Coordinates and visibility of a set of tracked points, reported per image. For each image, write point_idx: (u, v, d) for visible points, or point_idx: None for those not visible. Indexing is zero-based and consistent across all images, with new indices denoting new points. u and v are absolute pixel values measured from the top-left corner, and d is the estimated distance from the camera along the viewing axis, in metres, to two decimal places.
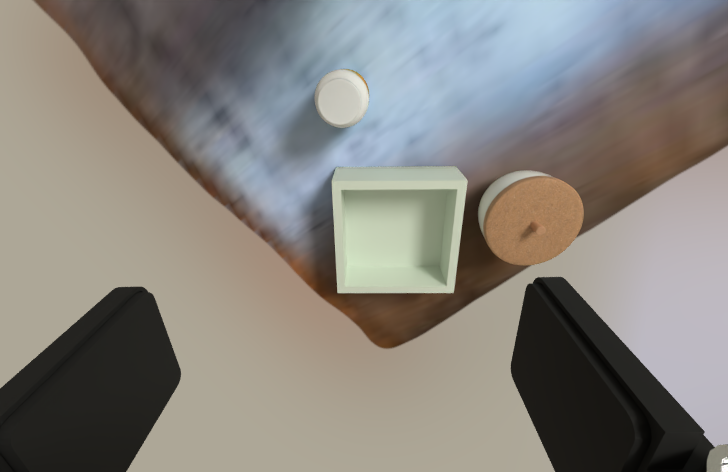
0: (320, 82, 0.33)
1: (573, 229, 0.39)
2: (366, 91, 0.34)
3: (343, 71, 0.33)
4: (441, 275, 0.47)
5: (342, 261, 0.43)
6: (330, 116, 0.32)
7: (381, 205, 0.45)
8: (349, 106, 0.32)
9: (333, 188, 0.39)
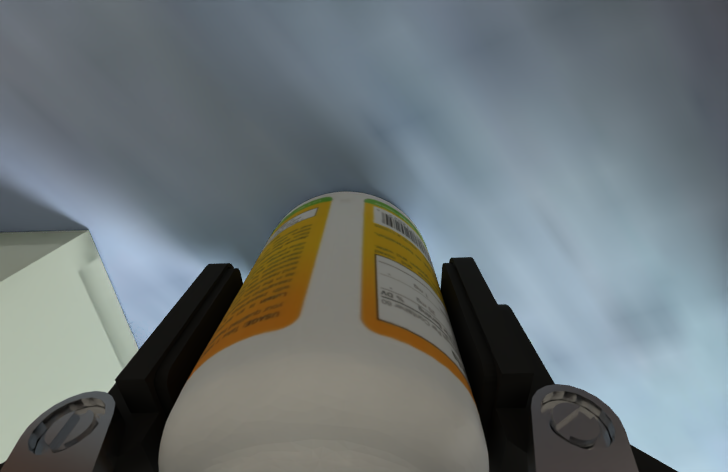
0: (431, 412, 0.05)
1: None
2: None
3: None
4: None
5: None
6: None
7: None
8: None
9: None
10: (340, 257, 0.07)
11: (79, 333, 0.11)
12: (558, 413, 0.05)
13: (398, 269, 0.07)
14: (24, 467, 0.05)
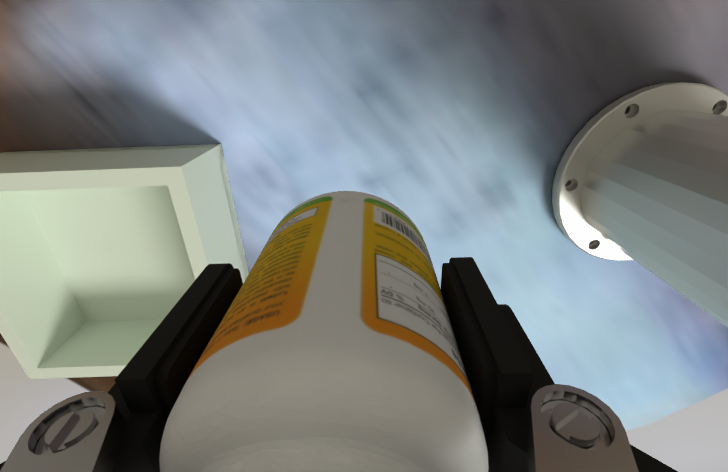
0: (430, 409, 0.05)
1: None
2: None
3: None
4: (63, 340, 0.27)
5: None
6: None
7: (166, 229, 0.26)
8: None
9: (166, 170, 0.19)
10: (340, 255, 0.07)
11: (220, 190, 0.24)
12: (558, 413, 0.05)
13: (398, 268, 0.07)
14: (24, 467, 0.05)
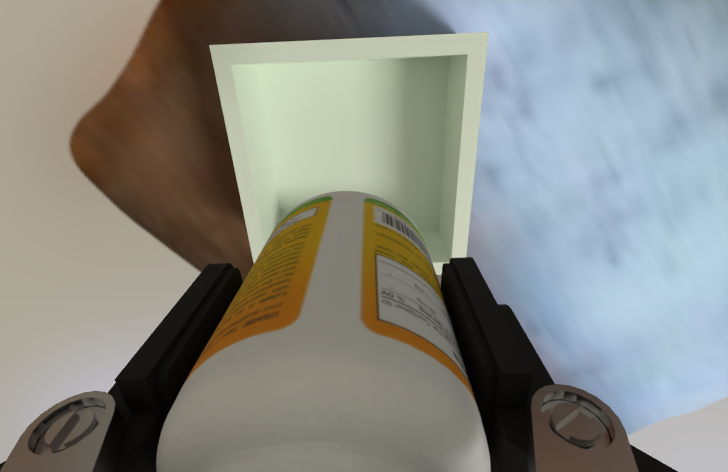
0: (432, 413, 0.05)
1: None
2: None
3: None
4: None
5: (297, 58, 0.19)
6: None
7: (391, 131, 0.26)
8: None
9: (472, 36, 0.19)
10: (339, 256, 0.07)
11: None
12: (558, 413, 0.05)
13: (399, 269, 0.07)
14: (24, 467, 0.05)
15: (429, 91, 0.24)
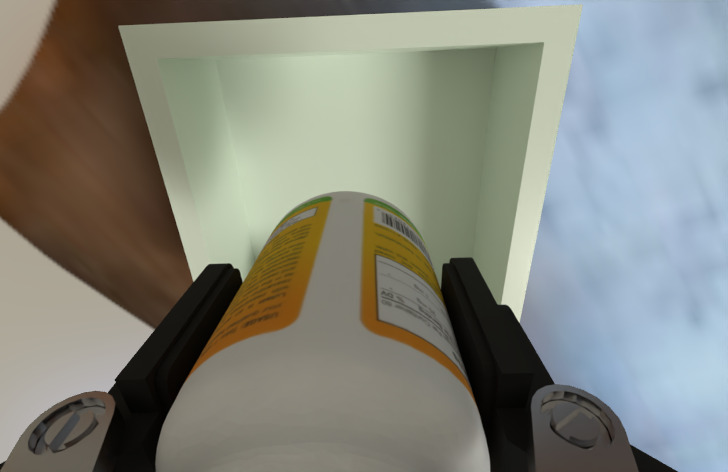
0: (431, 414, 0.05)
1: None
2: None
3: None
4: None
5: (264, 47, 0.12)
6: None
7: (408, 155, 0.18)
8: None
9: (554, 12, 0.11)
10: (339, 256, 0.07)
11: None
12: (558, 413, 0.05)
13: (398, 269, 0.07)
14: (24, 467, 0.05)
15: (464, 99, 0.17)
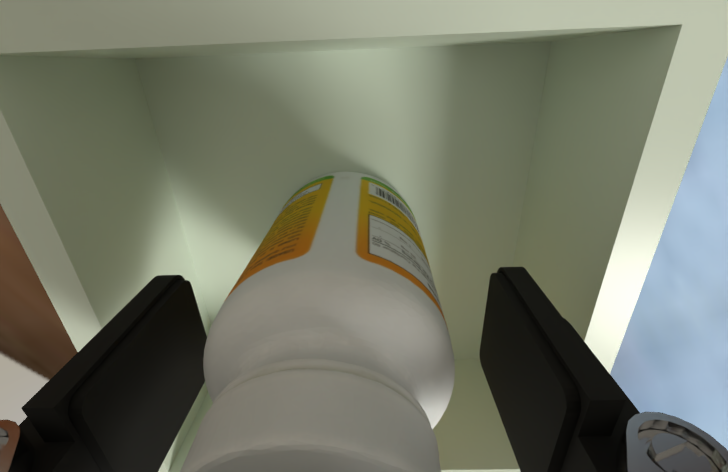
0: (406, 312, 0.06)
1: None
2: None
3: (450, 395, 0.07)
4: (199, 404, 0.15)
5: (167, 34, 0.06)
6: None
7: (418, 193, 0.13)
8: None
9: None
10: (340, 215, 0.09)
11: None
12: (659, 443, 0.05)
13: (387, 226, 0.09)
14: None
15: (501, 115, 0.12)
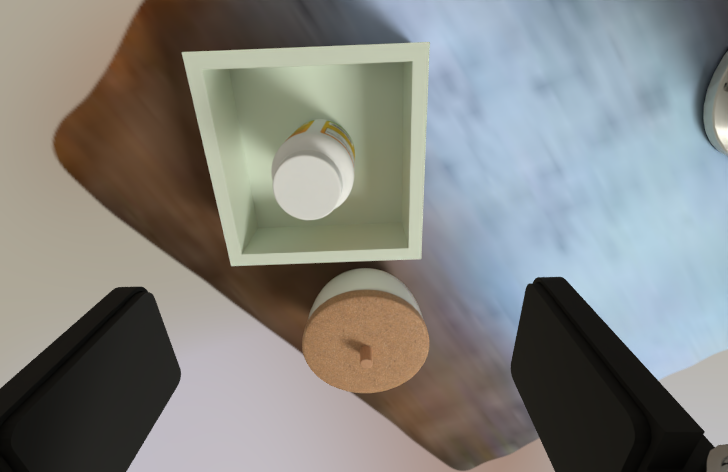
0: (334, 145, 0.22)
1: (361, 387, 0.31)
2: None
3: (351, 179, 0.23)
4: (250, 237, 0.30)
5: (261, 64, 0.22)
6: (284, 175, 0.20)
7: (354, 130, 0.28)
8: (302, 204, 0.21)
9: (415, 45, 0.21)
10: (316, 126, 0.24)
11: None
12: None
13: (333, 131, 0.24)
14: None
15: (387, 93, 0.27)
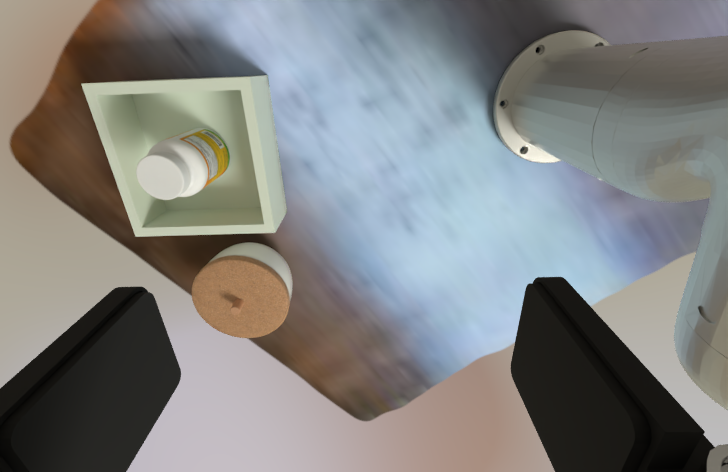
0: (185, 148, 0.31)
1: (242, 332, 0.41)
2: (190, 195, 0.33)
3: (202, 172, 0.32)
4: (155, 216, 0.39)
5: (136, 91, 0.31)
6: (142, 168, 0.29)
7: (228, 136, 0.38)
8: (158, 188, 0.30)
9: (240, 79, 0.31)
10: (183, 134, 0.33)
11: (267, 105, 0.35)
12: None
13: (197, 138, 0.34)
14: None
15: None
